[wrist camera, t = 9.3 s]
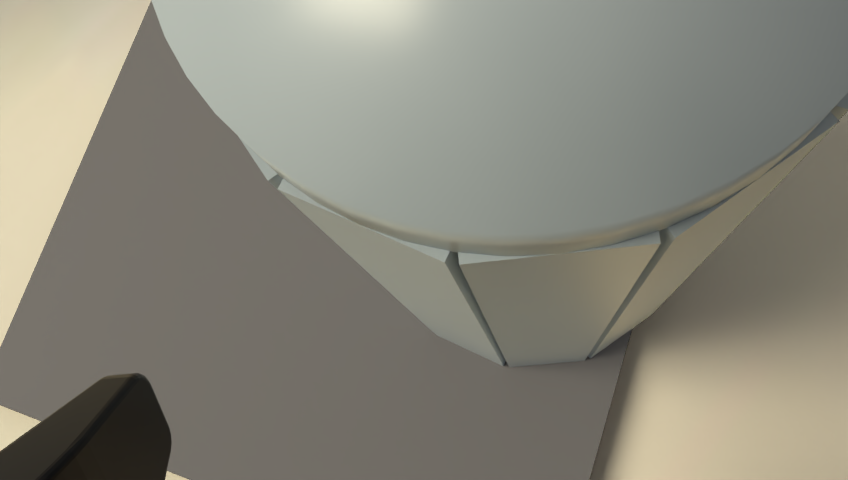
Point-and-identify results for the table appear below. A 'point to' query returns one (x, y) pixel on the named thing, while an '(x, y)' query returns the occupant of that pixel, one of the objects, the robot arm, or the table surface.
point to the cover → (521, 142)
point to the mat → (265, 321)
